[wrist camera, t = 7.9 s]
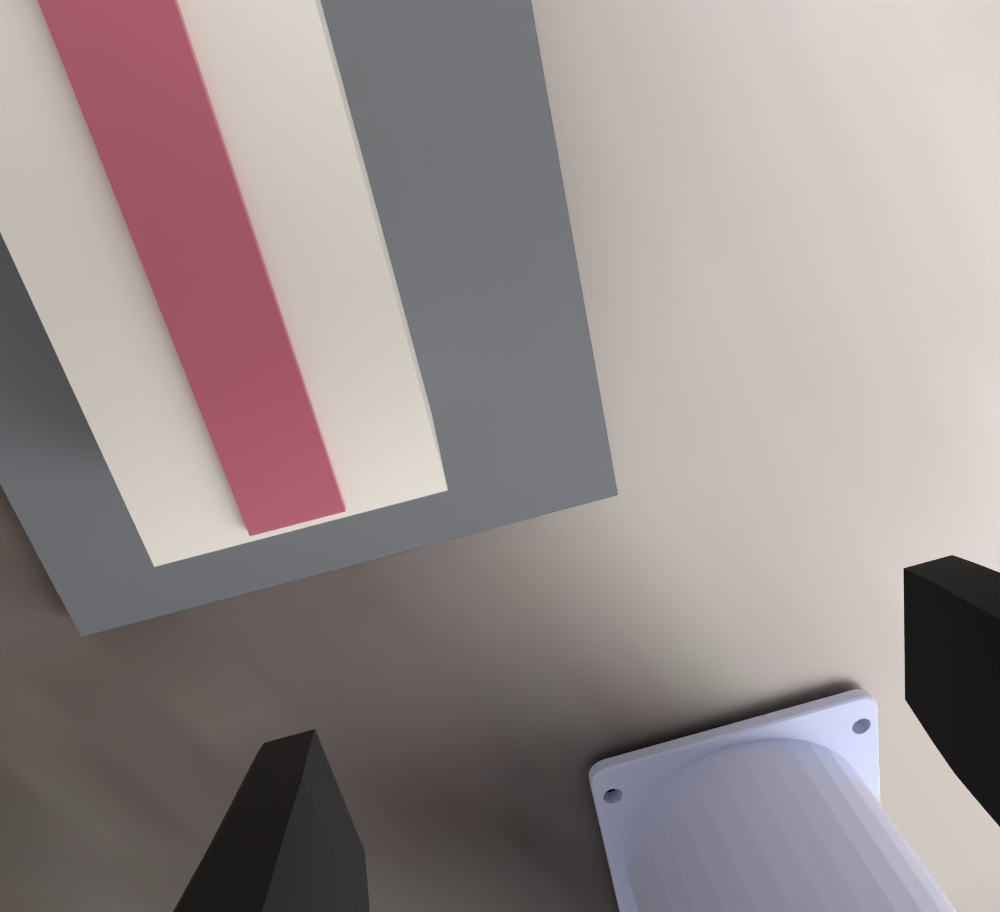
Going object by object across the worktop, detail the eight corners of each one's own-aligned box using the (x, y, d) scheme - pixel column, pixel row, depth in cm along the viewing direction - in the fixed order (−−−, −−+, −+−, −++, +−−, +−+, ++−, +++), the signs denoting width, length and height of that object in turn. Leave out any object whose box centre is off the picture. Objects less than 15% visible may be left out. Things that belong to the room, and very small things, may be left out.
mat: (608, 479, 20) (617, 494, 19) (91, 615, 19) (80, 637, 18) (471, -281, 14) (478, -300, 13) (-284, -114, 13) (-322, -126, 12)
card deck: (295, -92, 14) (275, -145, 10) (432, 415, 18) (449, 495, 14) (-16, -21, 14) (-138, -52, 10) (192, 477, 17) (151, 573, 14)
